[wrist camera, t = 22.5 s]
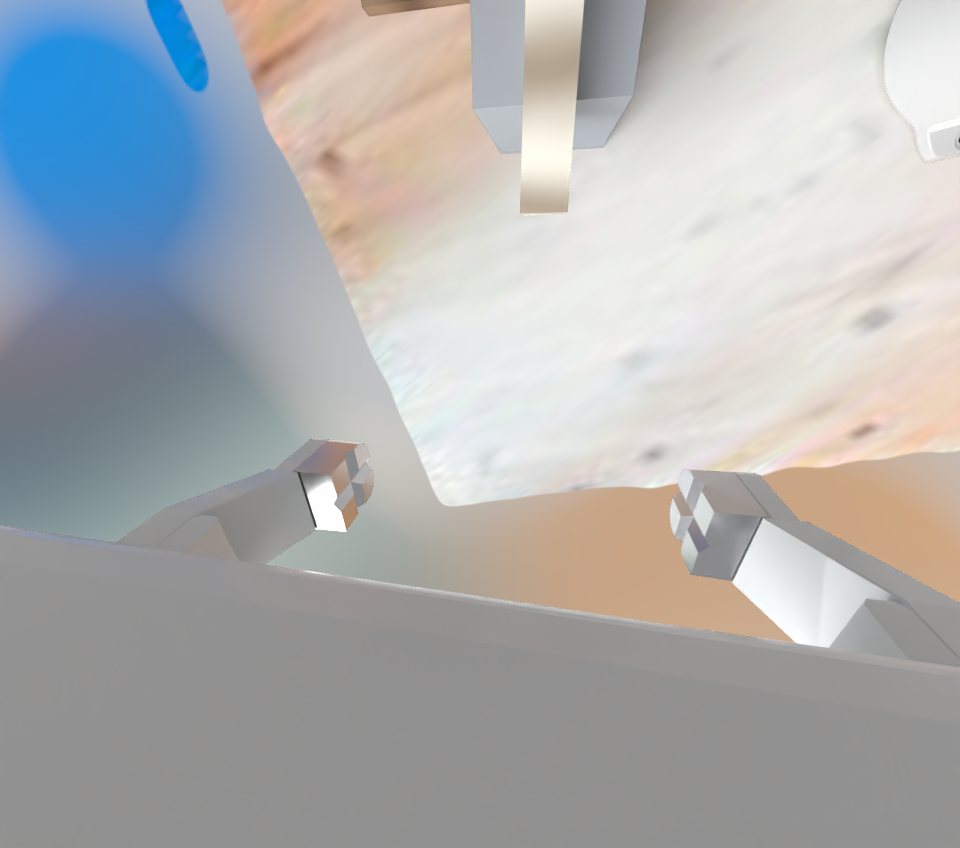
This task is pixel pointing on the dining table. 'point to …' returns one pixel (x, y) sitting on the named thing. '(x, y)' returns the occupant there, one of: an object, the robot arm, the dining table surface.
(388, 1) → the shelf stand
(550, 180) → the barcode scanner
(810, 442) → the dining table surface
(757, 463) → the dining table surface
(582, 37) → the display block
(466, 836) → the robot arm
